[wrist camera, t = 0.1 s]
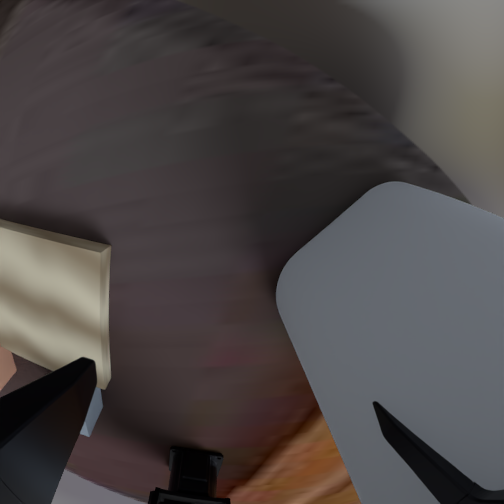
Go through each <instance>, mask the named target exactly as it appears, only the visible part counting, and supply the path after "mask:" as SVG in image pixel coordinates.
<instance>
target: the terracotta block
mask: <svg viewBox="0 0 504 504" xmlns="http://www.w3.org/2000/svg"><path fill="white" fill-rule="evenodd" d="M16 371H17V370H16V366H15V363H14V360H13V356H12V352H11V351H9V350H7V349H5V348H3V347H1V344H0V391H1V389H2V388H3V387H4V386H5V384H6V383H7V382H8V381H9V379H10V378H11V377H12V376H13V375H14V373H15V372H16Z"/></svg>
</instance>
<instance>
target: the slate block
mask: <svg viewBox="0 0 504 504" xmlns="http://www.w3.org/2000/svg"><path fill="white" fill-rule="evenodd" d="M52 372H53V371H52ZM102 408H103V404H102V397H101V390H100V388H98V387H96V389H95V392H94V395H93V398H92V401H91V404H90V407H89V410H88V413H87V416H86V419H85V422H84V425H83V427H82V430H81V432H80V434H83V435H85V436H88V437H90V435H91V432H92V430H93V428H94V425H95V423H96V421H97V419H98V416H99V414H100V412H101V410H102Z"/></svg>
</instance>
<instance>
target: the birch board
mask: <svg viewBox="0 0 504 504" xmlns="http://www.w3.org/2000/svg"><path fill="white" fill-rule="evenodd" d="M110 256H111V245H107V244H102V243H98V242H94V241H89V240H85V239H81V238H76V237H72V236H68V235H63V234H59V233H55V232H51V231H47V230H43V229H38V228H34V227H30V226H26V225H22V224H18V223H14V222H10V221H6V220H2V219H0V344H1V347H3V348H5V349H7V350H9V351H11V352H13V353H15V354H17V355H19V356H21V357H23V358H25V359H27V360H29V361H32V362H34V363H36V364H38V365H40V366H43V367H45V368H47V369H50V370H52V371H55V370H57V369H59V368H61V367H63V366H65V365H67V364H69V363H71V362H73V361H75V360H76V359H78V358H80V357H87V358H90V359H93V360H94V361H95V363H96V372H97V386H96V387H98V388H101V389H104V390H105V389H106V387H107V385H108V383H109V381H110V379H111V366H110V349H109V274H110Z"/></svg>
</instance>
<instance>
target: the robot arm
mask: <svg viewBox="0 0 504 504" xmlns="http://www.w3.org/2000/svg"><path fill="white" fill-rule="evenodd" d="M96 386H97V372H96V363H95V361H94V360H93V359H90V358H87V357H80V358H78V359H76V360H75V361H73V362H71V363H69V364H67V365H65V366H63V367H61V368H59V369H57V370H55V371H53V372H51V373H49V374H47V375H45V376H43V377H41V378H39V379H37V380H35V381H33V382H31V383H29V384H27V385H25V386H23V387H21V388H19V389H17V390H15V391H13V392H11V393H9V394H7V395H5V396H3V397H1V398H0V504H51V502H52V499H53V497H54V494H55V492H56V489H57V486H58V484H59V481H60V479H61V476H62V474H63V471H64V469H65V466H66V464H67V462H68V459H69V457H70V455H71V452H72V450H73V448H74V445H75V443H76V441H77V439H78V436H79V434H80V432H81V430H82V427H83V425H84V422H85V419H86V416H87V413H88V410H89V407H90V404H91V401H92V398H93V395H94V392H95V389H96ZM372 404H373V407H374V410H375V413H376V416H377V419H378V422H379V425H380V429H381V432H382V434H383V437H384V438H385V439H386V441H387V442H388V443H389V444H390V445H391V446H392V448H393V449H394V450H395V451H396V452H397V453H398V454H399V456H400V457H401V458H402V459H403V460H404V461H405V462H406V463H407V465H408V466H409V467H410V468H411V469H412V471H413V472H414V473H415V474H416V475H417V477H418V478H419V479H420V480H421V481H422V483H423V484H424V485H425V486H426V487H427V489H428V490H429V491H430V492H431V493H432V495H433V496H434V497H435V498H436V499H437V501H438V502H439V503H440V504H504V490H497V491H491V490H486V489H484V488H482V487H481V486H480V485H478V484H477V483H476V482H473V481H472V480H471V479H470V478H468V477H467V476H466V475H464V474H463V473H462V472H461V471H459V470H458V469H457V468H456V467H455V466H454V465H452V464H451V463H450V462H449V461H447V460H446V459H445V458H444V457H442V456H441V455H440V454H439V453H437V452H436V451H435V450H434V449H432V448H431V447H430V446H429V445H427V444H426V443H425V442H424V441H423V440H421V439H420V438H419V437H418V436H416V435H415V434H414V433H413V432H412V431H410V430H409V429H408V428H407V427H406V426H405V425H403V424H402V423H401V422H400V421H399V420H398V419H396V418H395V417H394V416H393V415H392V414H391V413H389V412H388V411H387V410H386V409H385V408H384V407H383V406H382V405H381V404H379V403H378V402H377V401H374V402H372ZM222 461H223V455H221V454H215V453H208V452H201V451H195V450H189V449H183V448H178V447H171V448H170V460H169V470H170V471H171V474H170V480H169V487H168V490H164V489H160V488H158V487H156V488H155V491H150V496H149V501H148V504H231V503H230V498H216V486H217V476H218V473H219V470H220V467H221V464H222Z"/></svg>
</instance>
